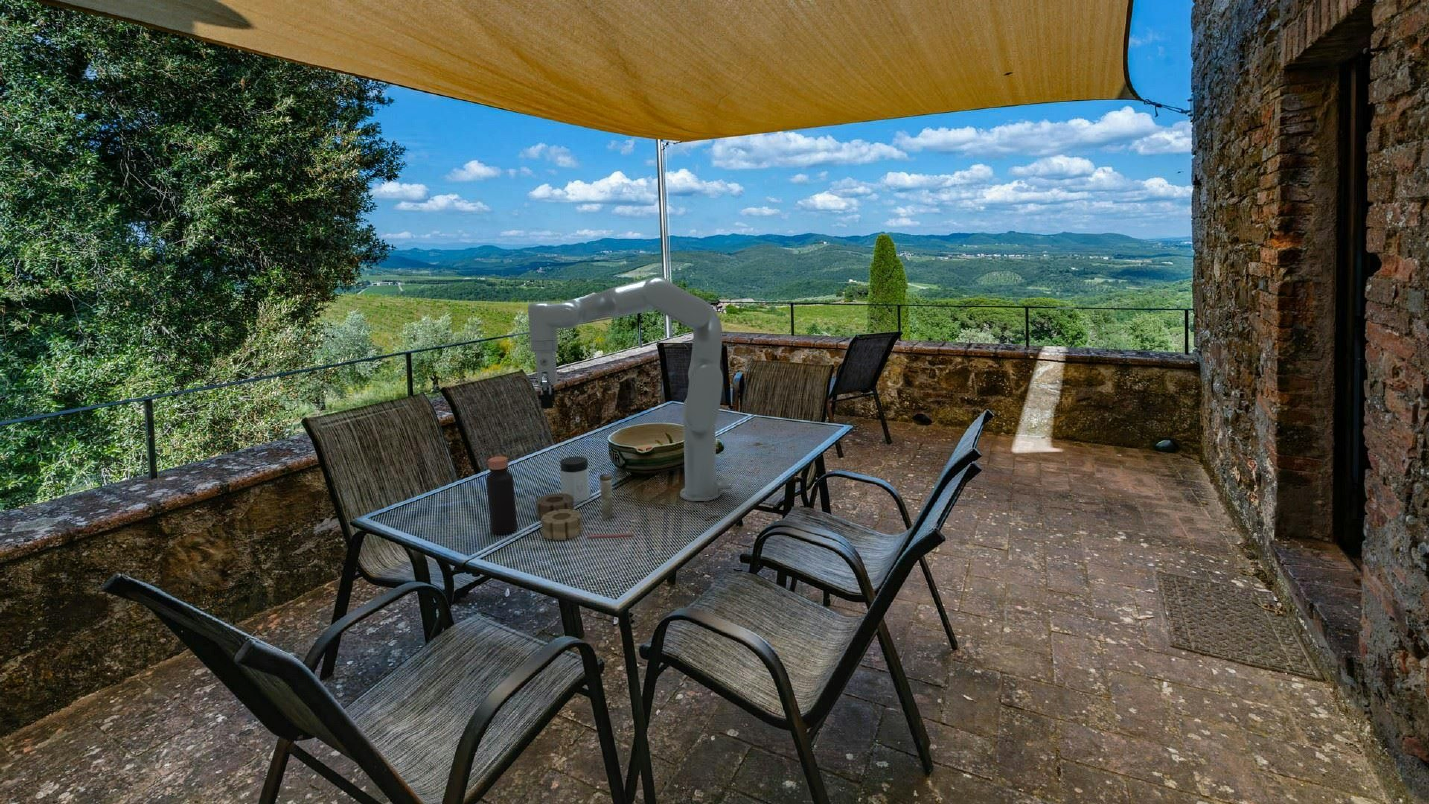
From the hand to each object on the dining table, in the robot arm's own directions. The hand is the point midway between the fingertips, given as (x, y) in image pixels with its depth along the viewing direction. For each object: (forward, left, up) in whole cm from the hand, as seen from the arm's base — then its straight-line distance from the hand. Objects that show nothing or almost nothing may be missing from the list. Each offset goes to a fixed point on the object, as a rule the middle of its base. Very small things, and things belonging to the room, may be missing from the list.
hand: (548, 404), depth 189 cm
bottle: (+10, +20, -30) cm, 38 cm away
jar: (-6, -3, -30) cm, 31 cm away
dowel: (-17, +13, -30) cm, 37 cm away
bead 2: (-6, +23, -30) cm, 38 cm away
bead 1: (-2, +10, -30) cm, 32 cm away
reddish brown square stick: (-19, +27, -30) cm, 45 cm away
